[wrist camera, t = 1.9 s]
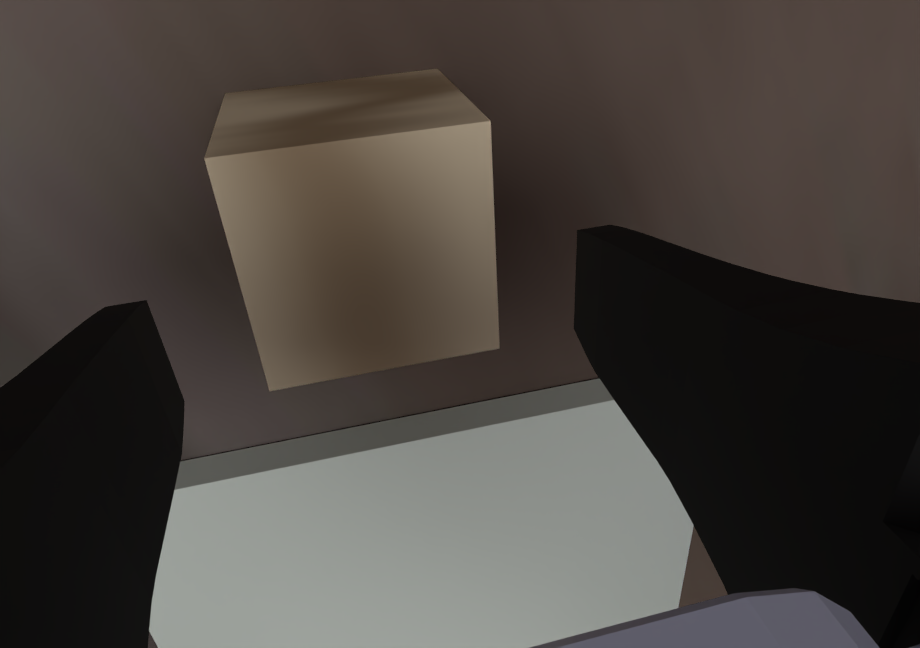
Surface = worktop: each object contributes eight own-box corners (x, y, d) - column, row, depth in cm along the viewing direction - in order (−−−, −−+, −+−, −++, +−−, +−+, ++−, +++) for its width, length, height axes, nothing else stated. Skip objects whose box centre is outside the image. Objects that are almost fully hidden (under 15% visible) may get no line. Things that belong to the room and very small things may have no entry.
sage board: (701, 357, 23) (721, 378, 22) (661, 603, 30) (674, 627, 29) (92, 478, 20) (82, 508, 19) (216, 719, 27) (213, 749, 26)
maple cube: (436, 67, 16) (490, 121, 12) (451, 252, 19) (499, 348, 15) (225, 92, 15) (204, 158, 11) (272, 281, 18) (269, 391, 14)
